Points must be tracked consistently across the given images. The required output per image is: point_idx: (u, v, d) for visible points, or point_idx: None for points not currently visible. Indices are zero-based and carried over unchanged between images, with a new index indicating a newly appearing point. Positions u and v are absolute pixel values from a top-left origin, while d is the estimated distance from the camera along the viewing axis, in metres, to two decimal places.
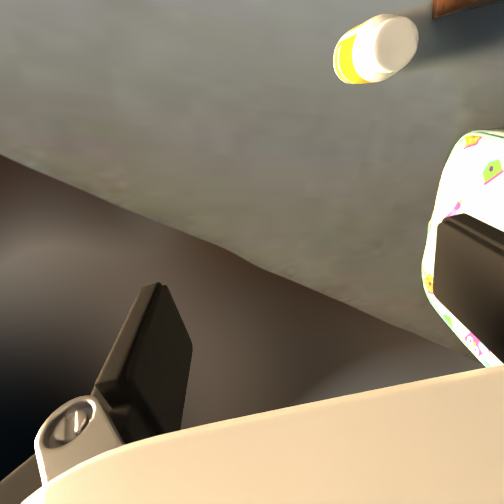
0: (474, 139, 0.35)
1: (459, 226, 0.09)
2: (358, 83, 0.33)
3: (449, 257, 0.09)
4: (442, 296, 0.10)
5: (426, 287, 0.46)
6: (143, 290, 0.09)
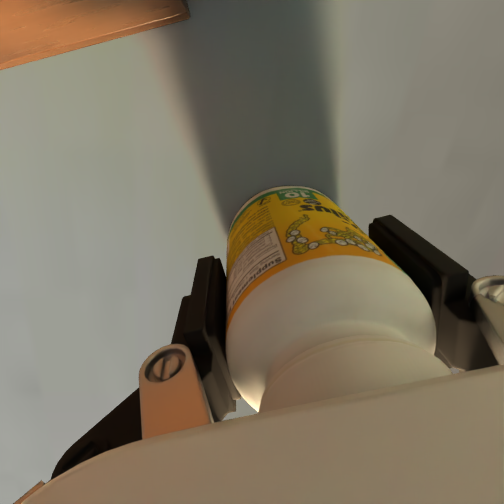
0: None
1: (384, 226, 0.10)
2: None
3: None
4: None
5: None
6: (201, 262, 0.10)
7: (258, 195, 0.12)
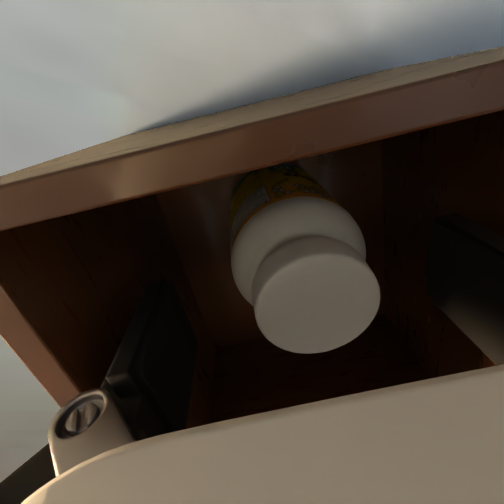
0: None
1: (450, 225, 0.09)
2: None
3: (440, 256, 0.09)
4: (434, 294, 0.10)
5: None
6: (150, 286, 0.09)
7: None
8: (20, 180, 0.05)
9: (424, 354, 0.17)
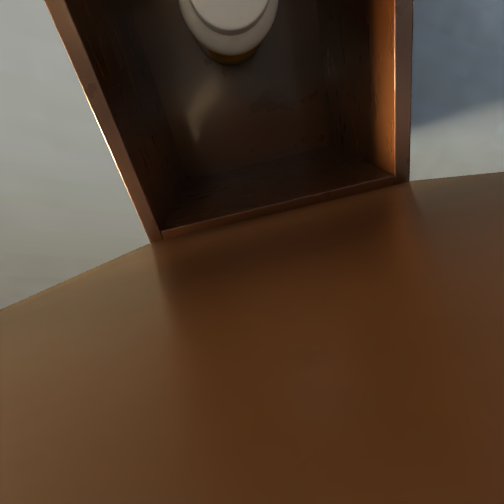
0: None
1: None
2: None
3: None
4: None
5: None
6: None
7: None
8: None
9: (350, 137, 0.21)
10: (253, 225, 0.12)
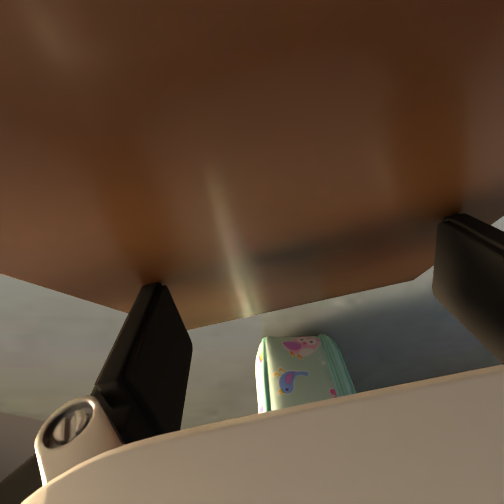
0: (262, 354, 0.32)
1: (459, 226, 0.09)
2: None
3: (449, 257, 0.09)
4: (442, 296, 0.10)
5: None
6: (143, 290, 0.09)
7: None
8: None
9: None
10: None
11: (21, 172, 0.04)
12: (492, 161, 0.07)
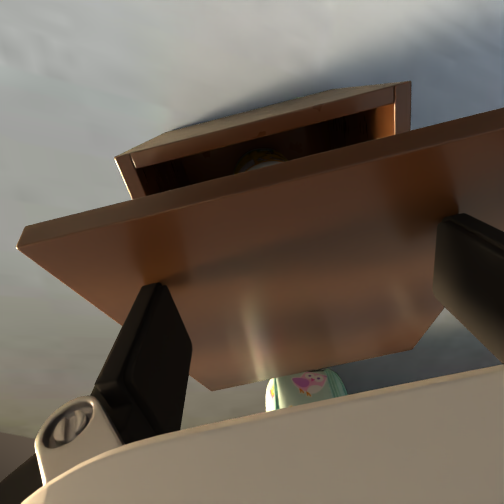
0: (273, 390, 0.35)
1: (459, 226, 0.09)
2: None
3: (449, 257, 0.09)
4: (442, 296, 0.10)
5: None
6: (143, 290, 0.09)
7: (248, 152, 0.25)
8: (159, 145, 0.14)
9: None
10: None
11: (163, 265, 0.09)
12: (418, 257, 0.11)
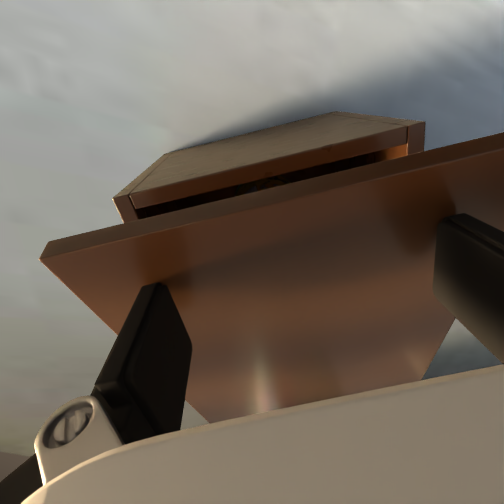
0: None
1: (459, 226, 0.09)
2: None
3: (449, 257, 0.09)
4: (442, 296, 0.10)
5: None
6: (143, 290, 0.09)
7: None
8: (160, 186, 0.14)
9: None
10: None
11: (169, 280, 0.10)
12: (412, 279, 0.11)
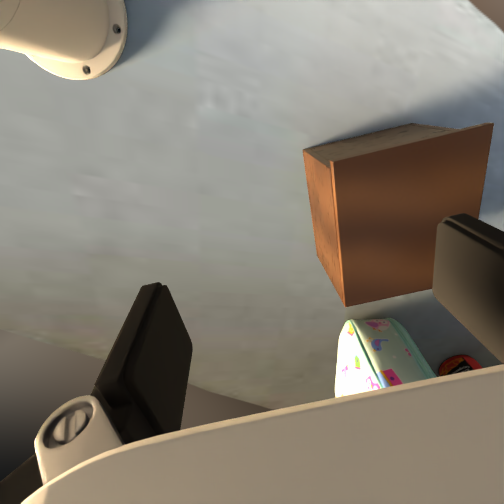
0: (351, 330, 0.49)
1: (459, 226, 0.09)
2: None
3: (449, 257, 0.09)
4: (442, 296, 0.10)
5: None
6: (143, 290, 0.09)
7: None
8: None
9: None
10: None
11: (366, 175, 0.28)
12: (455, 185, 0.29)
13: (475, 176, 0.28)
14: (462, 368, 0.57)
